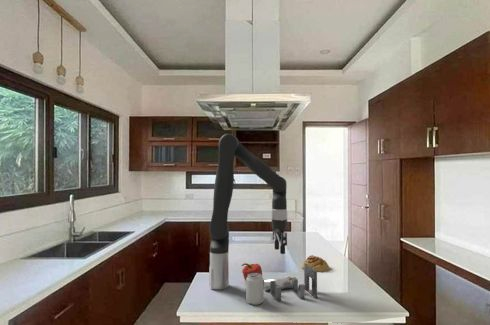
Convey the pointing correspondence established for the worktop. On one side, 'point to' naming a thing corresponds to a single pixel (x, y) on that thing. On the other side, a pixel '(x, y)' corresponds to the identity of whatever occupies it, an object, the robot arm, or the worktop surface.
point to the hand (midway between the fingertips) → (279, 251)
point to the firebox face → (313, 274)
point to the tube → (279, 283)
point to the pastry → (316, 263)
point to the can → (254, 288)
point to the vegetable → (251, 269)
